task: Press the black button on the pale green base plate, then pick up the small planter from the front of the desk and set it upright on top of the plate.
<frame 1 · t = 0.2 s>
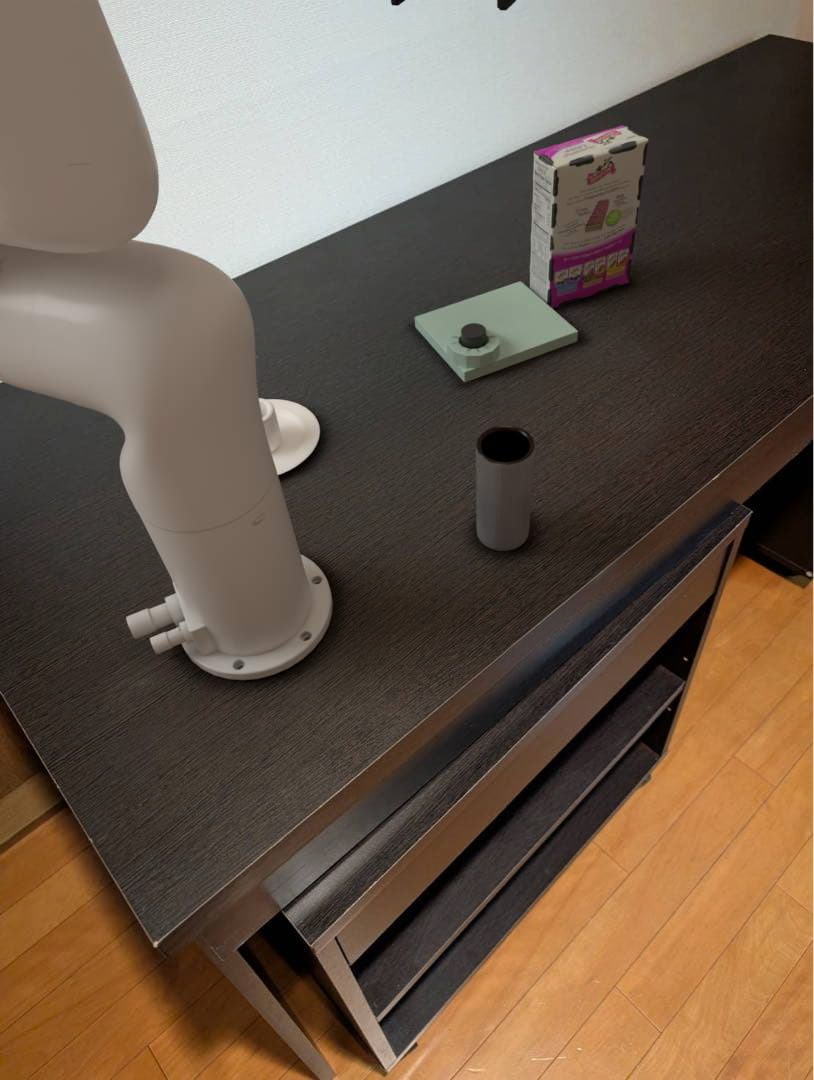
hand: (453, 3, 65), 31 cm above the table, tool pointing down, fingers open, 9 cm apart
candle holder: (262, 444, 77), on the table
scale button: (473, 336, 80), point 3 cm above the table, slide at 0.1 cm
candy bar box: (577, 289, 91), on the table
pale green base plate: (494, 334, 86), on the table
planter: (502, 533, 67), on the table
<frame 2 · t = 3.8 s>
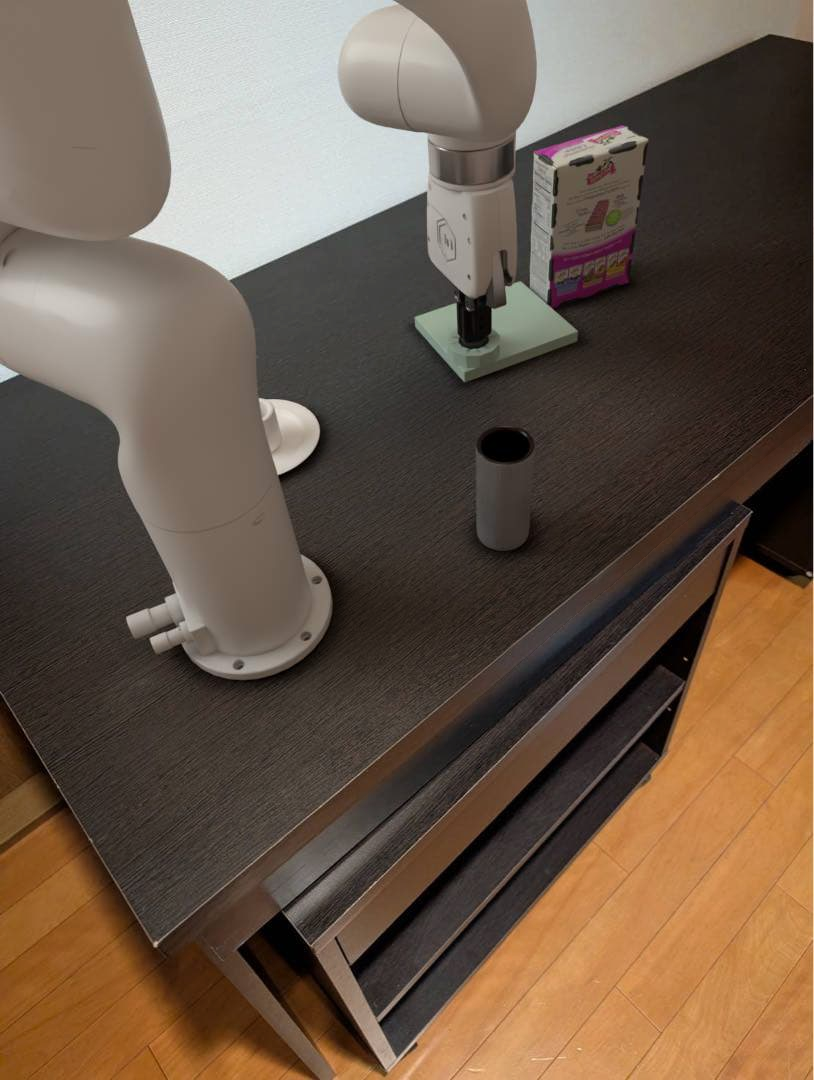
hand: (474, 334, 80), 3 cm above the table, tool pointing down, fingers closed
scale button: (473, 342, 80), point 3 cm above the table, slide at -0.6 cm, touching gripper
everything else where it was.
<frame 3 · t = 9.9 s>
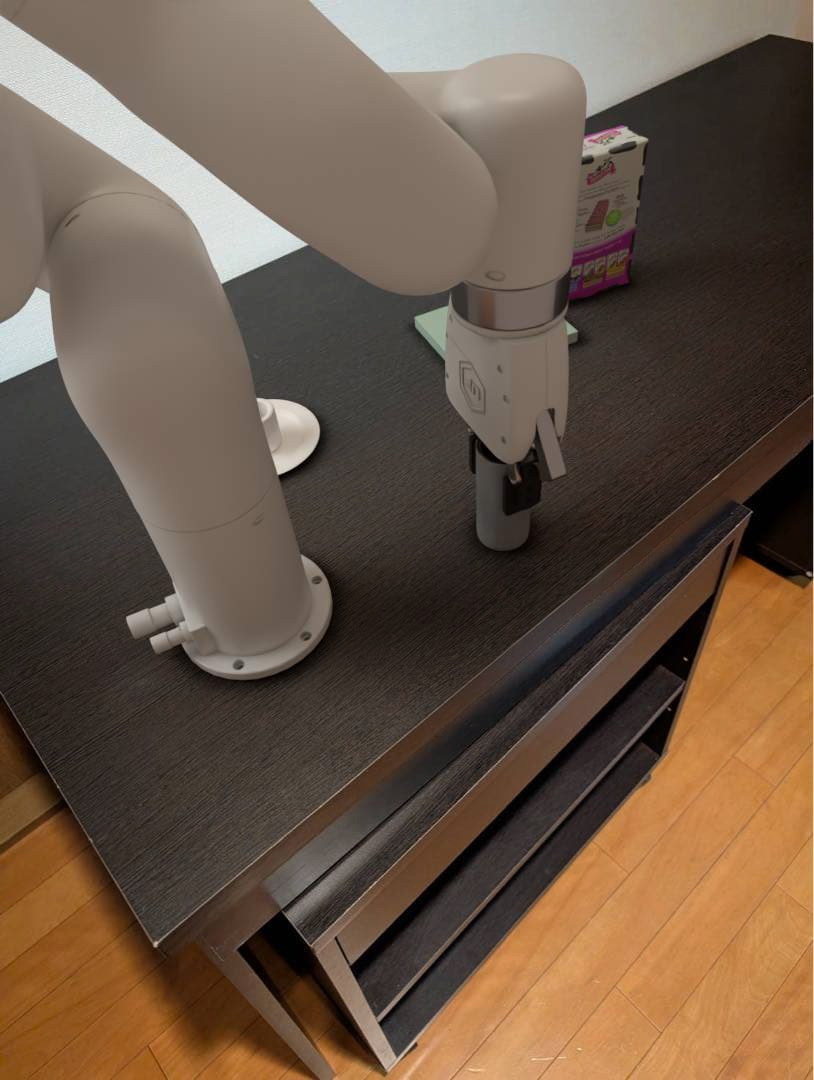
hand: (504, 485, 62), 6 cm above the table, tool pointing down, fingers closed on planter, 4 cm apart
scale button: (473, 336, 80), point 3 cm above the table, slide at 0.1 cm
planter: (502, 533, 67), on the table, touching gripper
everything else where it was.
when the fingers open (7 cm above the table, at t = 18.1 s): planter stays where it is, resting on pale green base plate.
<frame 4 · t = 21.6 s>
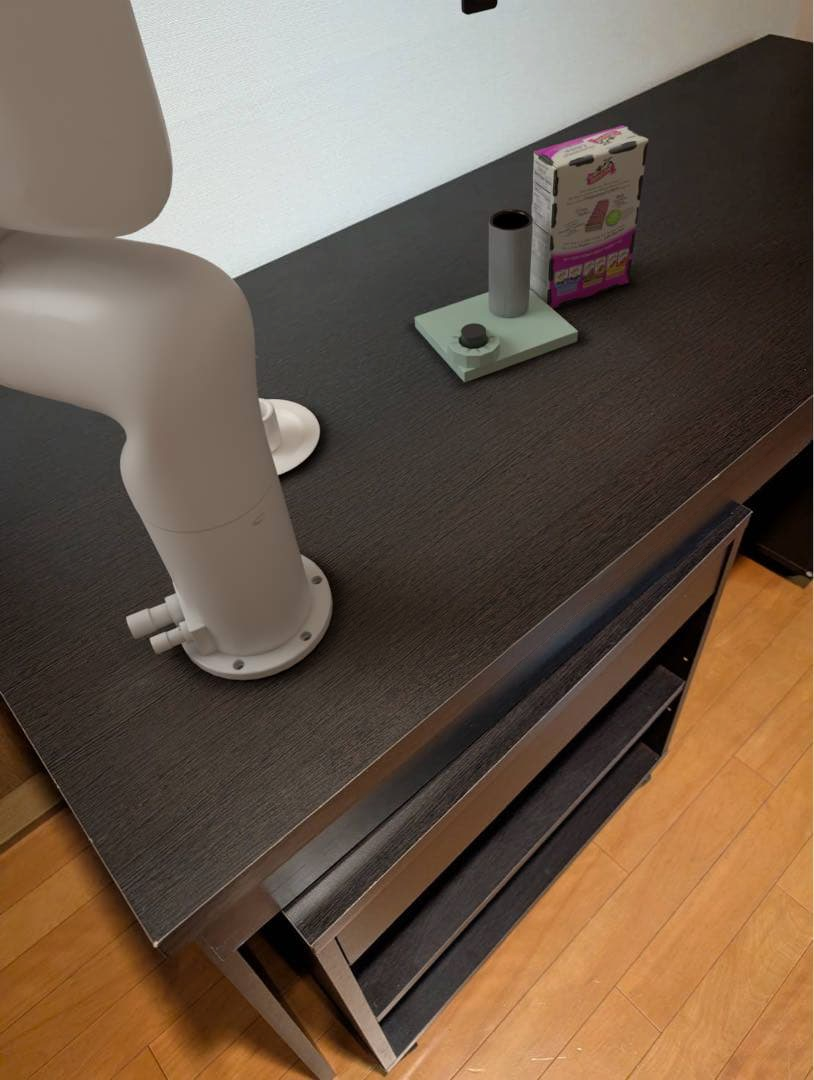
planter: (508, 308, 87), point 1 cm above the table, touching pale green base plate
everything else where it was.
at the end: scale button pushed in 0.9 cm at the most during the clip, back to where it started at the end; planter inside the target area on the pale green base plate (0.7 cm from its centre), point 1.2 cm above the pale green base plate's base; planter touching pale green base plate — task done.
